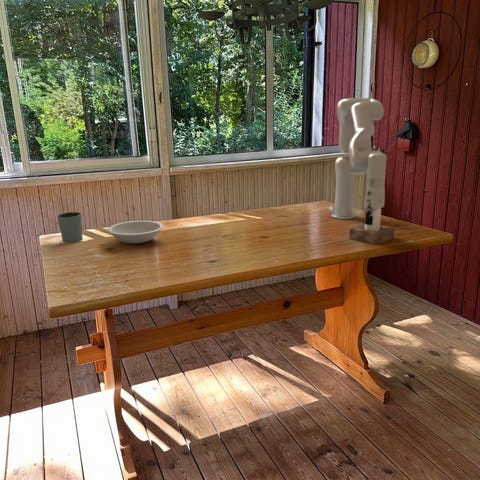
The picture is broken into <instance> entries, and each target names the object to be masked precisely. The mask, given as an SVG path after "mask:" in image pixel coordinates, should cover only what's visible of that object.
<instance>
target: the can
mask: <svg viewBox="0 0 480 480" xmlns="http://www.w3.org/2000/svg"><path fill="white" fill-rule="evenodd" d="M369 209H371V208H370V207H369ZM368 211H370V212H371V210H368ZM372 216H373V221H372V225H366V224H365V228H364V229H365V230H371V231H378V230H380V225H381V220H382V219H381V217H382V209H380V207H379V209H377V210H373V214H372Z"/></svg>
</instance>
